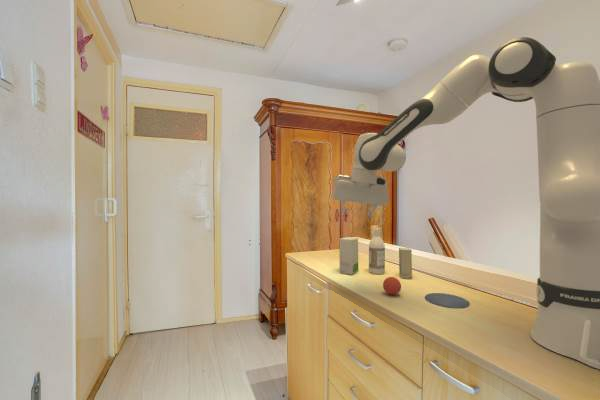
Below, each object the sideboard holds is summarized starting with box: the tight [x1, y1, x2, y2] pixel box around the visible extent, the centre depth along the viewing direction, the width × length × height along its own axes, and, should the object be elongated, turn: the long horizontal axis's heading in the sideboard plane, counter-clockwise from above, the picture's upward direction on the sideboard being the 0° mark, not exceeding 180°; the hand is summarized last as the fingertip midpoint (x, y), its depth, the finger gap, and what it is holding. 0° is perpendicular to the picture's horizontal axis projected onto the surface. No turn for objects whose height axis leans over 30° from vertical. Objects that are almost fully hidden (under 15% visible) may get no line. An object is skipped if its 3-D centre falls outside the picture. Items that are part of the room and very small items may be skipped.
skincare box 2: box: [398, 247, 413, 280], centre depth 118 cm, size 6×4×12 cm
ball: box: [382, 276, 402, 296], centre depth 96 cm, size 6×6×6 cm
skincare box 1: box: [338, 236, 359, 276], centre depth 125 cm, size 8×7×16 cm
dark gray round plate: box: [424, 292, 471, 309], centre depth 91 cm, size 13×13×1 cm
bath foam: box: [368, 227, 386, 275], centre depth 125 cm, size 7×7×20 cm
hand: (357, 214), depth 103 cm, fingers open, 8 cm apart
